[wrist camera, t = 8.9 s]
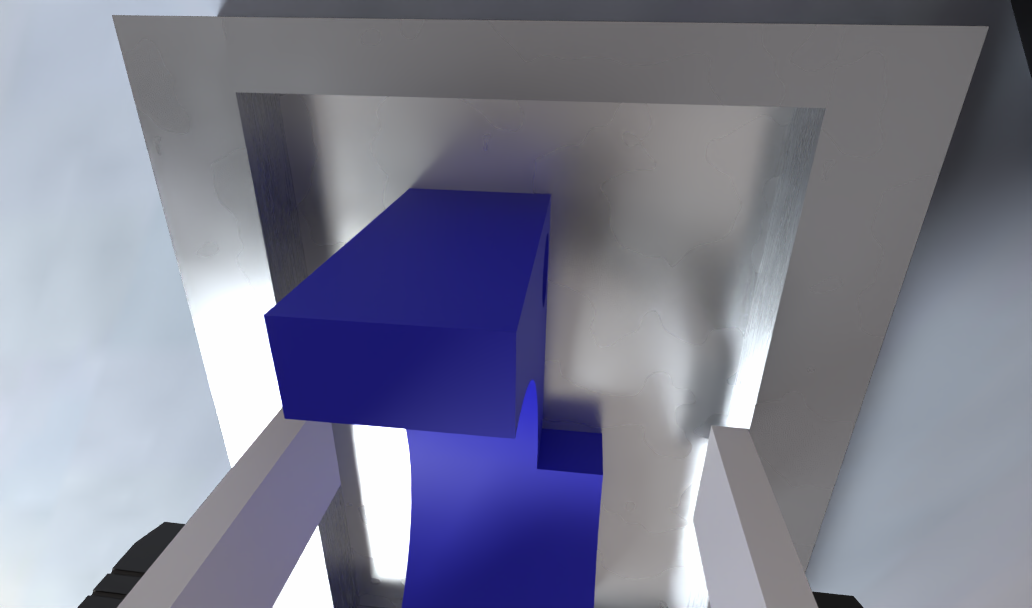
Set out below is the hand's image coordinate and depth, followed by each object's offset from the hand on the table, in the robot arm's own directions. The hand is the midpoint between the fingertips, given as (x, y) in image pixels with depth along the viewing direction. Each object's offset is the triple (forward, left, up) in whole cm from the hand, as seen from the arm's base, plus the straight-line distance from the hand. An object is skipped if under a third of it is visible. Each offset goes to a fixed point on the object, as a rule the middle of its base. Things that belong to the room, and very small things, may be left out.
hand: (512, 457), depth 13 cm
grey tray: (0, 0, -3) cm, 3 cm away
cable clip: (0, 0, -2) cm, 2 cm away
